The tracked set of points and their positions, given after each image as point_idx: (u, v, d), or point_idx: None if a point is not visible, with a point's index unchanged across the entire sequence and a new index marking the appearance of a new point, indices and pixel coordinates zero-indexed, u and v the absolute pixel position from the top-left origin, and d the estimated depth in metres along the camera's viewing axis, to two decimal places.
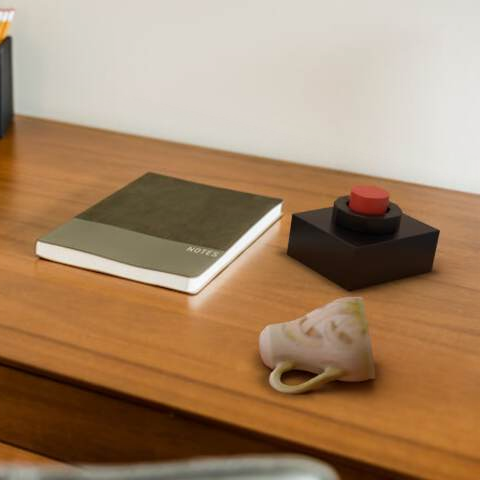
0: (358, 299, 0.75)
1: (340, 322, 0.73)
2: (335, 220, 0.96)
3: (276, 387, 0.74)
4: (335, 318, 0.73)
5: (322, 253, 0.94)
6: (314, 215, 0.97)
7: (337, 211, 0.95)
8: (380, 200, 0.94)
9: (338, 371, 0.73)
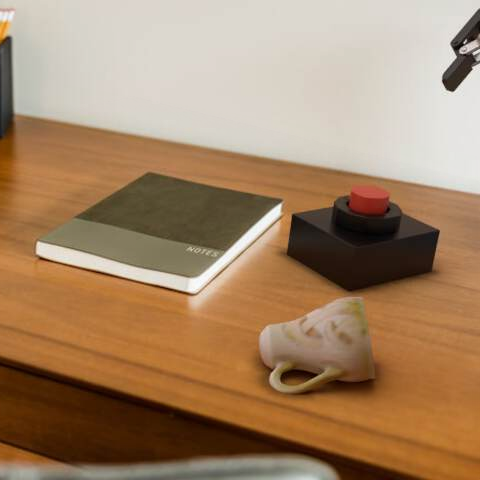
0: (358, 299, 0.75)
1: (340, 322, 0.73)
2: (335, 220, 0.96)
3: (276, 387, 0.74)
4: (335, 318, 0.73)
5: (322, 253, 0.94)
6: (314, 215, 0.97)
7: (337, 211, 0.95)
8: (380, 200, 0.94)
9: (338, 371, 0.73)
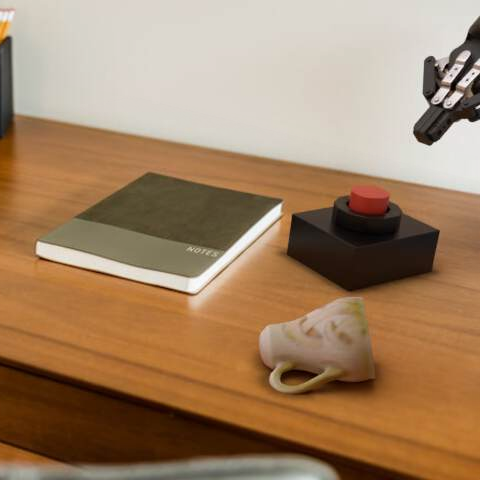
0: (358, 299, 0.75)
1: (340, 322, 0.73)
2: (335, 220, 0.96)
3: (276, 387, 0.74)
4: (335, 318, 0.73)
5: (322, 253, 0.94)
6: (314, 215, 0.97)
7: (337, 211, 0.95)
8: (380, 200, 0.94)
9: (338, 371, 0.73)
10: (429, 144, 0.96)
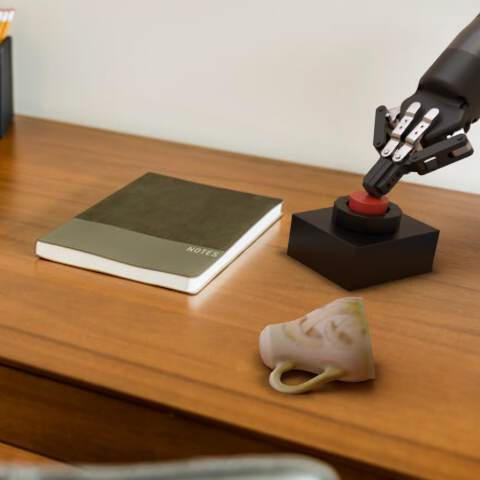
0: (358, 299, 0.75)
1: (340, 322, 0.73)
2: (335, 220, 0.96)
3: (276, 387, 0.74)
4: (335, 318, 0.73)
5: (322, 253, 0.94)
6: (314, 215, 0.97)
7: (337, 211, 0.95)
8: (379, 206, 0.94)
9: (338, 371, 0.73)
10: (378, 197, 0.95)
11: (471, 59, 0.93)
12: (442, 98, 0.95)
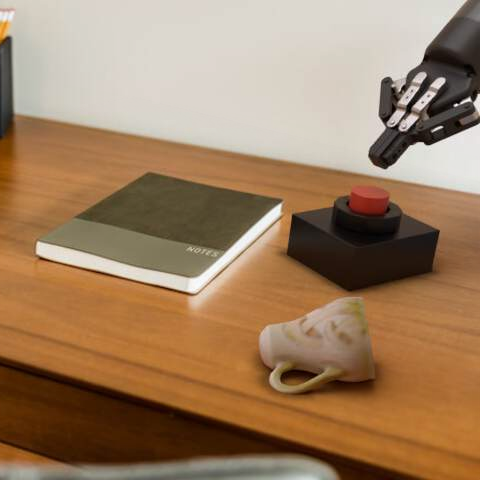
0: (358, 299, 0.75)
1: (340, 322, 0.73)
2: (335, 220, 0.96)
3: (276, 387, 0.74)
4: (335, 318, 0.73)
5: (322, 253, 0.94)
6: (314, 215, 0.97)
7: (337, 211, 0.95)
8: (380, 200, 0.94)
9: (338, 371, 0.73)
10: (384, 168, 0.94)
11: (478, 27, 0.91)
12: (448, 67, 0.94)
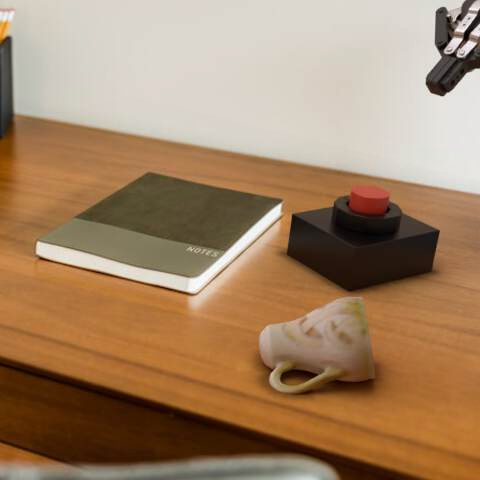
0: (358, 299, 0.75)
1: (340, 322, 0.73)
2: (335, 220, 0.96)
3: (276, 387, 0.74)
4: (335, 318, 0.73)
5: (322, 253, 0.94)
6: (314, 215, 0.97)
7: (337, 211, 0.95)
8: (380, 200, 0.94)
9: (338, 371, 0.73)
10: (442, 95, 0.94)
11: None
12: None
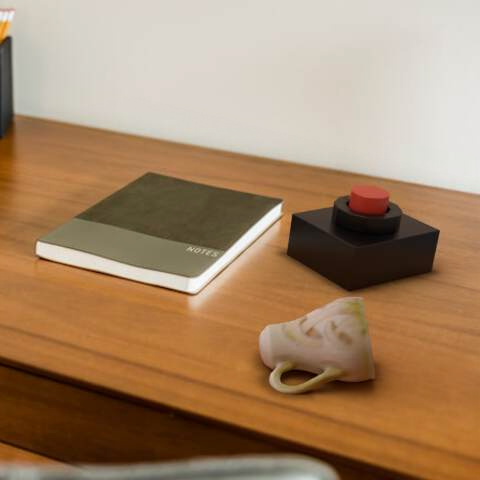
0: (358, 299, 0.75)
1: (340, 322, 0.73)
2: (335, 220, 0.96)
3: (276, 387, 0.74)
4: (335, 318, 0.73)
5: (322, 253, 0.94)
6: (314, 215, 0.97)
7: (337, 211, 0.95)
8: (380, 200, 0.94)
9: (338, 371, 0.73)
10: None
11: None
12: None
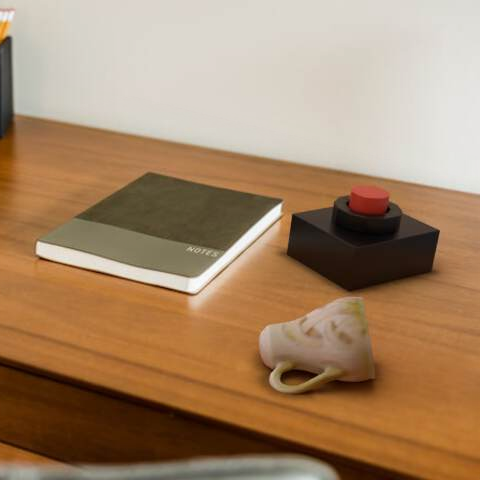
0: (358, 299, 0.75)
1: (340, 322, 0.73)
2: (335, 220, 0.96)
3: (276, 387, 0.74)
4: (335, 318, 0.73)
5: (322, 253, 0.94)
6: (314, 215, 0.97)
7: (337, 211, 0.95)
8: (380, 200, 0.94)
9: (338, 371, 0.73)
10: None
11: None
12: None
